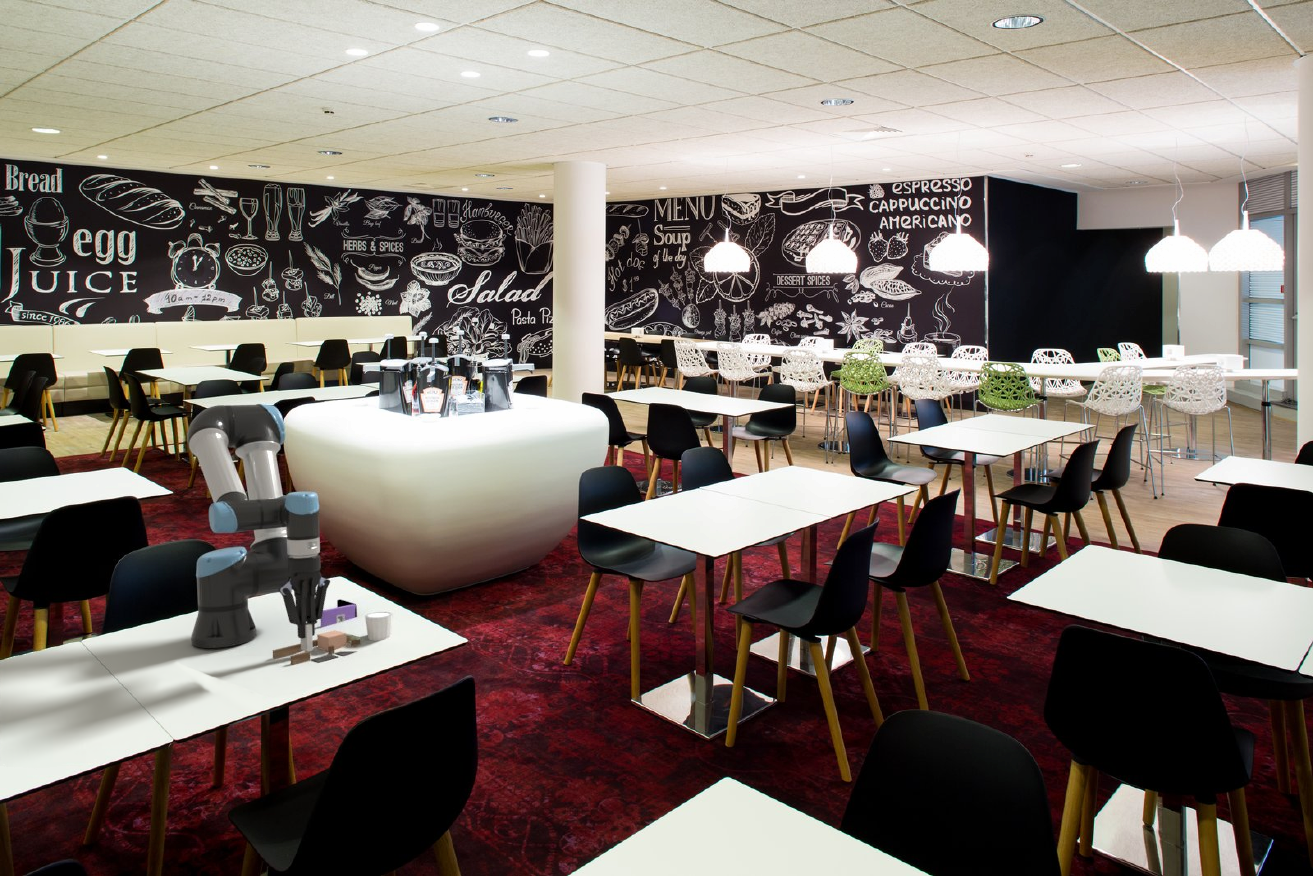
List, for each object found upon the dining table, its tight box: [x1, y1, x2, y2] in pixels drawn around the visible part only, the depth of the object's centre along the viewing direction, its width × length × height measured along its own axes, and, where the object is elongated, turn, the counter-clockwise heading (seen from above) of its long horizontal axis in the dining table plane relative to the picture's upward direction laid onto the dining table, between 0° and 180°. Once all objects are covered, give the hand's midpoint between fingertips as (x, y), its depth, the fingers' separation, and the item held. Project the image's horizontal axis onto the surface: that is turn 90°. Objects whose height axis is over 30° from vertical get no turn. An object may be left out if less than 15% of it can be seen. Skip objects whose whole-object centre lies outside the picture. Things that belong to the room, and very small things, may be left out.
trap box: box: [272, 632, 362, 666], centre depth 225 cm, size 12×18×2 cm
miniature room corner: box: [320, 598, 358, 628], centre depth 249 cm, size 12×12×7 cm
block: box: [316, 629, 348, 653], centre depth 229 cm, size 5×5×4 cm
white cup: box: [364, 611, 394, 641], centre depth 235 cm, size 7×7×7 cm
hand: (306, 650), depth 224 cm, fingers closed
